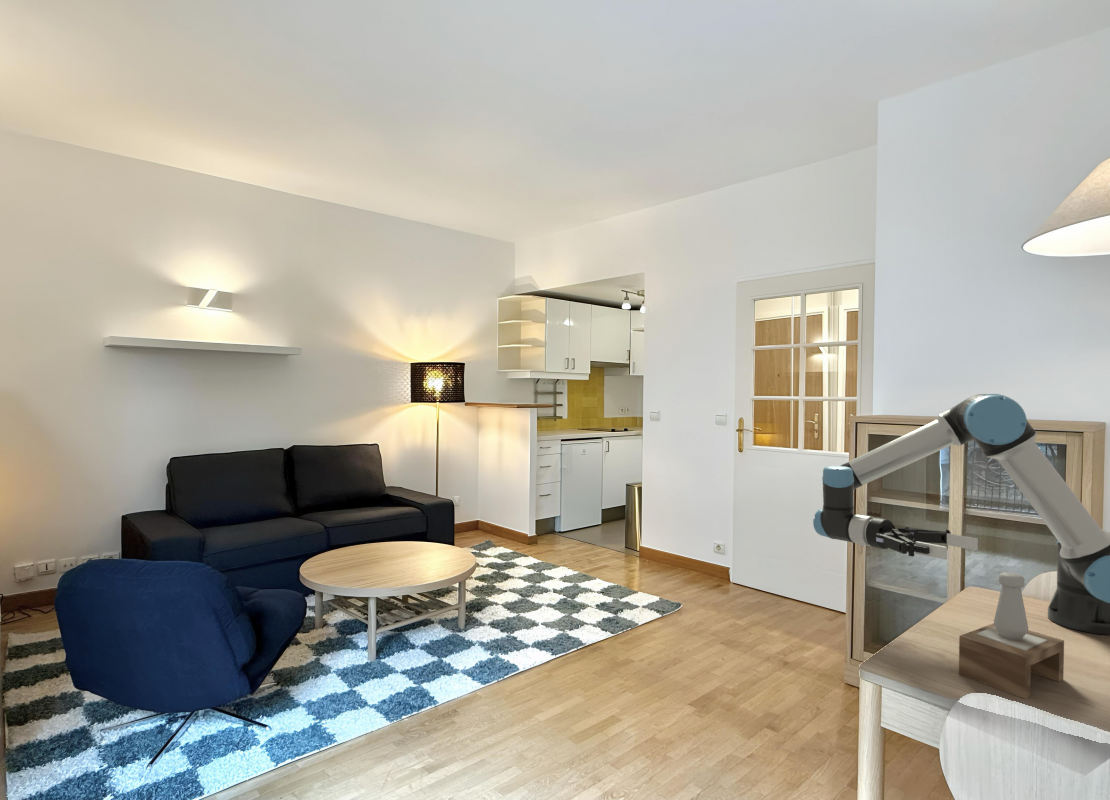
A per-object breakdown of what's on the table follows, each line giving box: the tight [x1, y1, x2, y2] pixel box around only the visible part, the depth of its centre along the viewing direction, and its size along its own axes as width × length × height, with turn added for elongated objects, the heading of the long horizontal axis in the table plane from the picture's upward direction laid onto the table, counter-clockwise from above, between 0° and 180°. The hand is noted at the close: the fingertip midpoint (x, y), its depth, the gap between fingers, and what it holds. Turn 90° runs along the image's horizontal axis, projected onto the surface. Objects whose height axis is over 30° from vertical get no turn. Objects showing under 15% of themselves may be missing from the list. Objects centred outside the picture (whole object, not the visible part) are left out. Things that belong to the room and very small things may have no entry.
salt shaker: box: [993, 571, 1029, 641], centre depth 130 cm, size 6×6×13 cm
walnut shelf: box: [958, 622, 1065, 699], centre depth 130 cm, size 16×12×8 cm
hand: (962, 548), depth 143 cm, fingers open, 13 cm apart
